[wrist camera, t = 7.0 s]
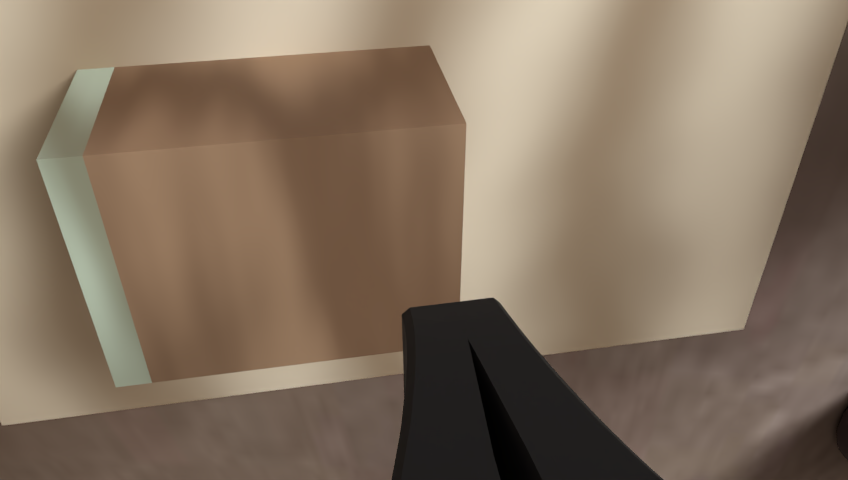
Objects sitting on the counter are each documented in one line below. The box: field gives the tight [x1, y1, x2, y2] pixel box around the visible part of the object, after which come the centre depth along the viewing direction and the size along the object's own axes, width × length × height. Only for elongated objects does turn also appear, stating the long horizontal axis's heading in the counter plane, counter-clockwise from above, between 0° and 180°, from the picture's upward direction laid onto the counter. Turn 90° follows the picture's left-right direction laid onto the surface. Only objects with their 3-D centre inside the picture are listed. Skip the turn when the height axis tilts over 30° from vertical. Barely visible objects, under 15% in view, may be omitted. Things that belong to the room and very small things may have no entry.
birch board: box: [0, 0, 848, 426], centre depth 20 cm, size 24×16×1 cm, turn 91°
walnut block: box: [36, 45, 466, 387], centre depth 18 cm, size 4×6×8 cm
